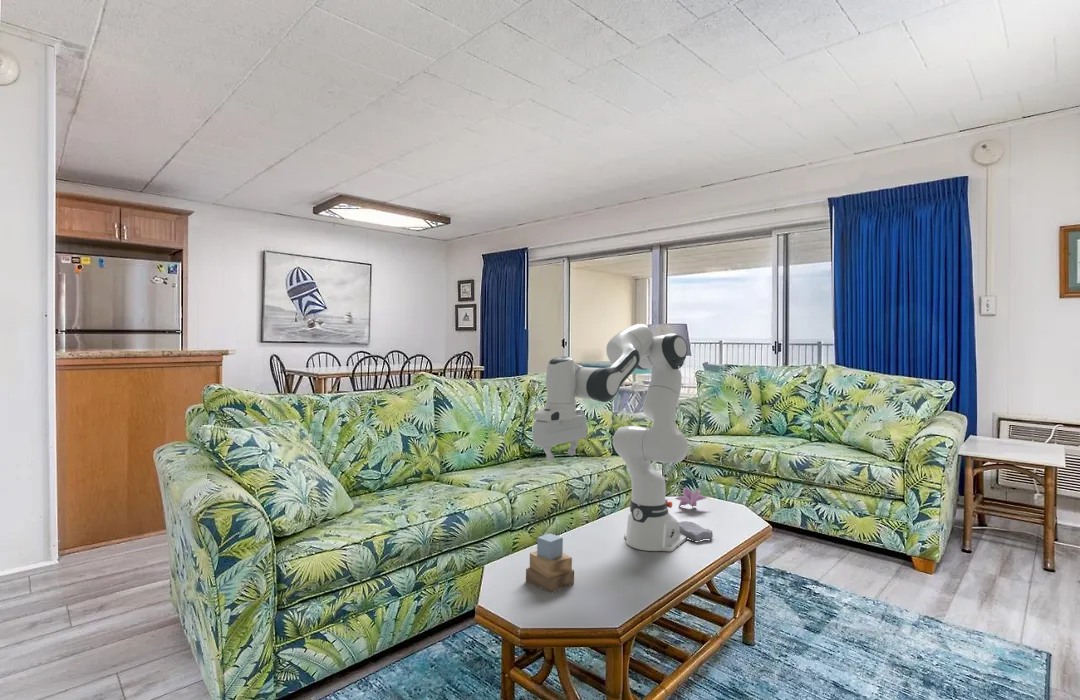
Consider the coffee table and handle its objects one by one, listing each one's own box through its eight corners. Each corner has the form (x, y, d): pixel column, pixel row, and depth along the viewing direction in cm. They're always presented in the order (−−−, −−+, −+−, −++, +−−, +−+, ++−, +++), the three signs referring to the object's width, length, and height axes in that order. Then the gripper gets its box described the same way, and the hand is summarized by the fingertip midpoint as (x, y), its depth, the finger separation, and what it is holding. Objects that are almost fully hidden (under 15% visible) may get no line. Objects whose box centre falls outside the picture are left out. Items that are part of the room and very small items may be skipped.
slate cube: (549, 550, 160) (549, 533, 160) (562, 555, 157) (562, 537, 156) (537, 555, 156) (537, 537, 156) (550, 560, 153) (550, 541, 153)
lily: (711, 513, 227) (706, 489, 232) (705, 508, 218) (699, 484, 222) (682, 518, 232) (677, 495, 236) (675, 514, 222) (670, 490, 227)
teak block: (552, 561, 163) (552, 547, 163) (571, 571, 155) (571, 557, 155) (529, 567, 158) (529, 552, 158) (548, 578, 151) (548, 563, 151)
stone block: (693, 534, 204) (671, 532, 200) (695, 521, 204) (674, 519, 200) (715, 546, 193) (693, 544, 189) (718, 532, 193) (696, 530, 189)
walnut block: (548, 573, 163) (548, 560, 163) (574, 584, 156) (574, 570, 156) (525, 582, 157) (526, 568, 157) (551, 594, 150) (551, 579, 150)
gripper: (576, 406, 177) (576, 450, 177) (529, 414, 162) (529, 461, 163) (591, 408, 172) (591, 453, 173) (544, 416, 158) (545, 465, 158)
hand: (561, 457), depth 168 cm, fingers open, 8 cm apart
